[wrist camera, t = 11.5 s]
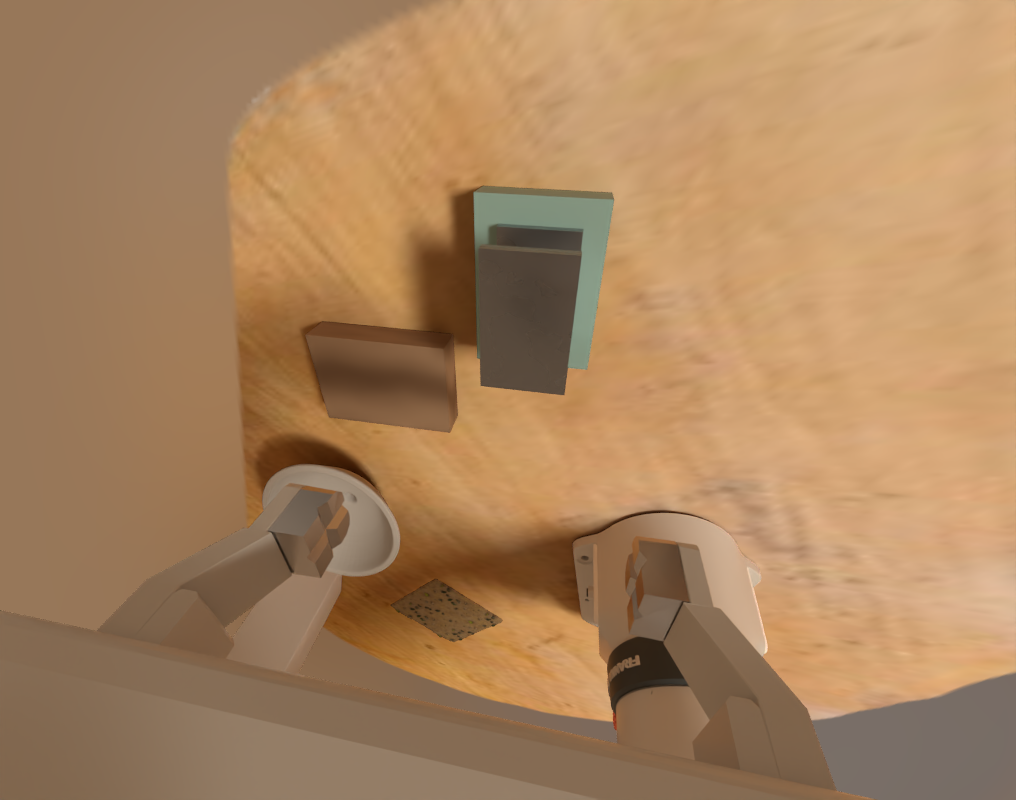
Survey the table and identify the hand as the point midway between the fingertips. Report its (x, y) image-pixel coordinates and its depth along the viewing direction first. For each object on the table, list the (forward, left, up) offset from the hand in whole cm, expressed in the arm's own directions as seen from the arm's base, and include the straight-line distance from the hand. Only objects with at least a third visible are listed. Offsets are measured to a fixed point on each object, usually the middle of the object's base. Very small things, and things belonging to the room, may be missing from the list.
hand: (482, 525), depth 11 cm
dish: (-25, +20, -21) cm, 39 cm away
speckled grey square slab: (-48, +11, -22) cm, 54 cm away
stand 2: (0, +1, -21) cm, 21 cm away
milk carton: (-43, +29, -21) cm, 56 cm away
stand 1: (-9, +13, -21) cm, 26 cm away
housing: (0, +1, -19) cm, 19 cm away
